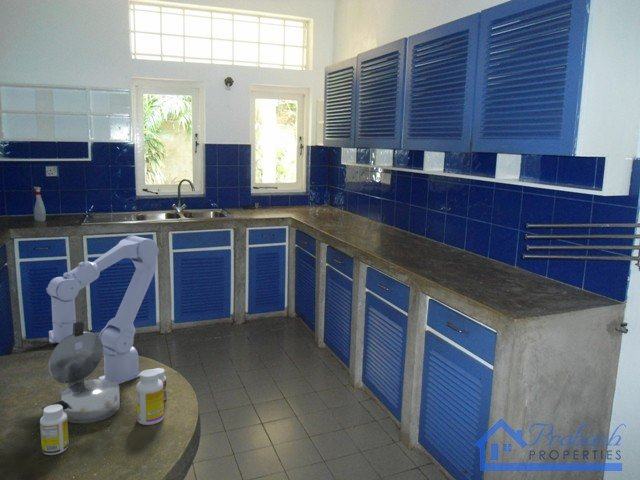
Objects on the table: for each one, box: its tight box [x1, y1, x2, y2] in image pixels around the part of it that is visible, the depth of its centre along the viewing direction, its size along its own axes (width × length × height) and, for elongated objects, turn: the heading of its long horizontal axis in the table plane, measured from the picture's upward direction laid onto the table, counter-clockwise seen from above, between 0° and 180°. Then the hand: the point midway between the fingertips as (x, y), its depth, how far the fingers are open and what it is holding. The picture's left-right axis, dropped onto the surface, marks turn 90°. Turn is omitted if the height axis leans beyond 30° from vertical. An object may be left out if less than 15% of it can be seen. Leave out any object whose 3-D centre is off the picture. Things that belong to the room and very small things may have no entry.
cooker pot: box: [41, 378, 121, 424], centre depth 134 cm, size 19×14×6 cm
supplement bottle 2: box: [135, 368, 165, 426], centre depth 131 cm, size 7×7×13 cm
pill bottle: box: [154, 367, 168, 401], centre depth 143 cm, size 5×5×8 cm
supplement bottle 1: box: [39, 404, 70, 456], centre depth 117 cm, size 6×6×10 cm
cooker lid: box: [47, 320, 104, 387], centre depth 138 cm, size 15×18×1 cm
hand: (66, 367), depth 142 cm, fingers closed
